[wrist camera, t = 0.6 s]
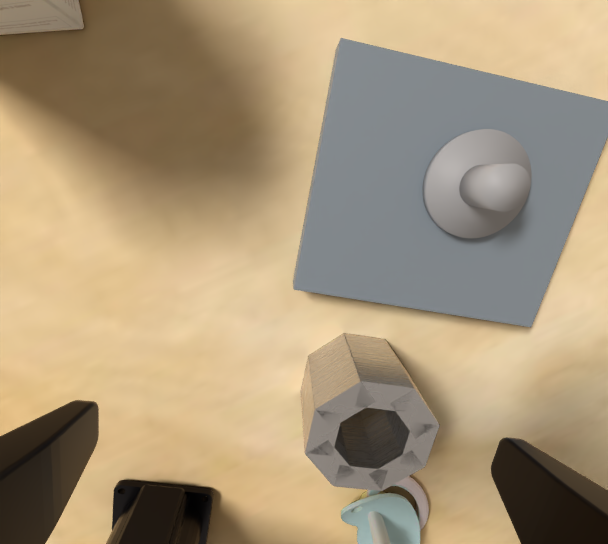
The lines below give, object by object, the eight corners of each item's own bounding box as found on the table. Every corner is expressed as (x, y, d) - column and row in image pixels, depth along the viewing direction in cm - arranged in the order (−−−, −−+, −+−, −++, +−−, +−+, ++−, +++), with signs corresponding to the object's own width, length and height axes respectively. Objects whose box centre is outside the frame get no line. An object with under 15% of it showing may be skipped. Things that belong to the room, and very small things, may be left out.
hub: (388, 427, 23) (415, 494, 18) (295, 416, 22) (298, 482, 18) (414, 343, 21) (450, 393, 16) (314, 328, 21) (322, 375, 16)
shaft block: (514, 316, 21) (569, 351, 17) (293, 280, 20) (294, 309, 16) (593, 109, 18) (685, 91, 14) (336, 49, 17) (352, 8, 12)
